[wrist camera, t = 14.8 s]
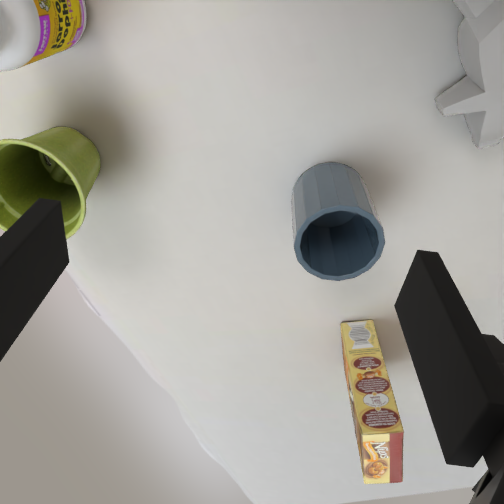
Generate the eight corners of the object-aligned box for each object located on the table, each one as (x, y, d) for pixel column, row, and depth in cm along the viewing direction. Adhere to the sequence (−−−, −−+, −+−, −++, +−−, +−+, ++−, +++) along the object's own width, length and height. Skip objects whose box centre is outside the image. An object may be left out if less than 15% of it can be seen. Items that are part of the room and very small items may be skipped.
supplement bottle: (94, 54, 37) (19, 90, 27) (17, 45, 37) (-89, 79, 26) (84, -40, 33) (-8, -41, 23) (-2, -49, 33) (-133, -55, 23)
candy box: (339, 321, 53) (358, 435, 40) (374, 317, 52) (405, 432, 39) (344, 370, 58) (362, 485, 45) (376, 367, 57) (404, 484, 44)
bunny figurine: (451, 167, 37) (440, -29, 28) (432, 140, 41) (418, -39, 32) (573, 134, 35) (605, -89, 26) (542, 109, 39) (560, -92, 30)
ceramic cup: (298, 157, 41) (302, 200, 34) (374, 167, 42) (395, 211, 34) (286, 223, 46) (288, 275, 38) (356, 232, 46) (371, 285, 38)
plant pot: (44, 204, 46) (1, 249, 39) (4, 115, 41) (-55, 148, 33) (129, 194, 45) (100, 239, 37) (98, 101, 39) (58, 132, 32)
